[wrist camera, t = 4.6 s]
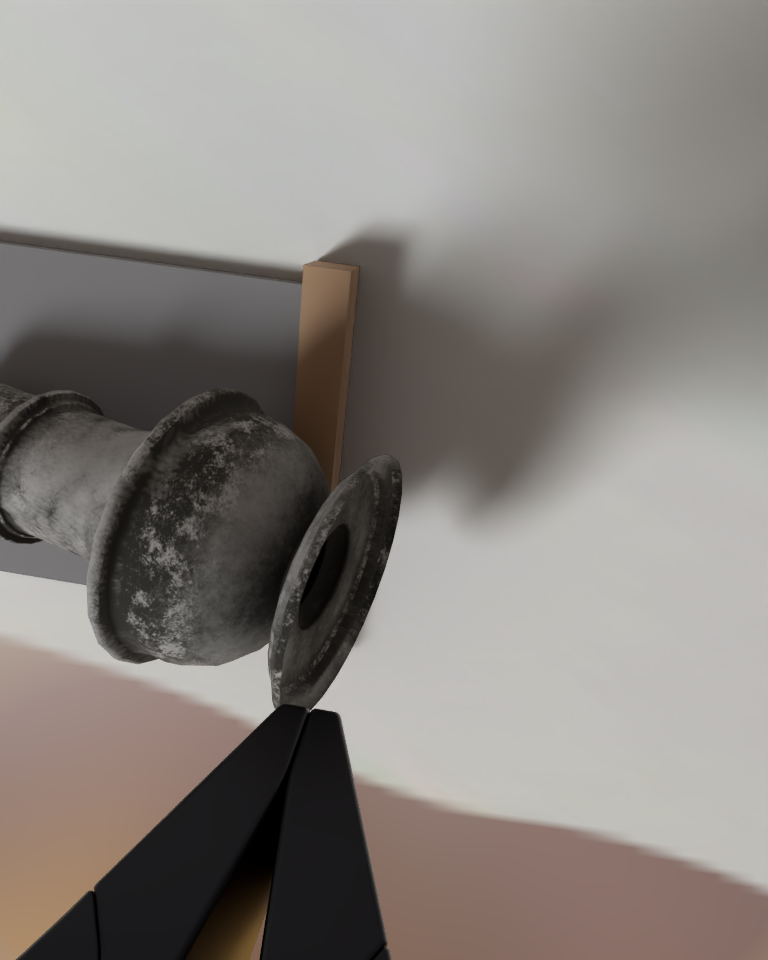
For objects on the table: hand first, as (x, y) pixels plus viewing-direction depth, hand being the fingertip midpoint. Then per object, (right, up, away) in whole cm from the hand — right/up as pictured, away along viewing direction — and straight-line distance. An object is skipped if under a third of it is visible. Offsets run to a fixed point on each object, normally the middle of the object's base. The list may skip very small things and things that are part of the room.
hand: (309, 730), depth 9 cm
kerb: (-1, +3, +7) cm, 8 cm away
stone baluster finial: (+1, +1, +3) cm, 4 cm away
